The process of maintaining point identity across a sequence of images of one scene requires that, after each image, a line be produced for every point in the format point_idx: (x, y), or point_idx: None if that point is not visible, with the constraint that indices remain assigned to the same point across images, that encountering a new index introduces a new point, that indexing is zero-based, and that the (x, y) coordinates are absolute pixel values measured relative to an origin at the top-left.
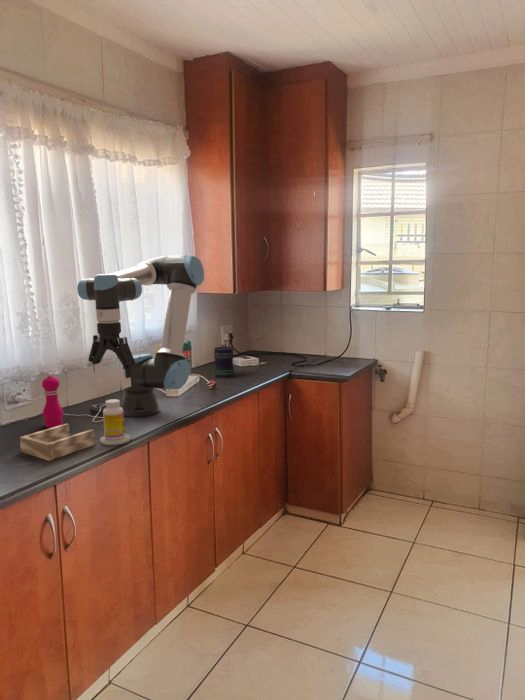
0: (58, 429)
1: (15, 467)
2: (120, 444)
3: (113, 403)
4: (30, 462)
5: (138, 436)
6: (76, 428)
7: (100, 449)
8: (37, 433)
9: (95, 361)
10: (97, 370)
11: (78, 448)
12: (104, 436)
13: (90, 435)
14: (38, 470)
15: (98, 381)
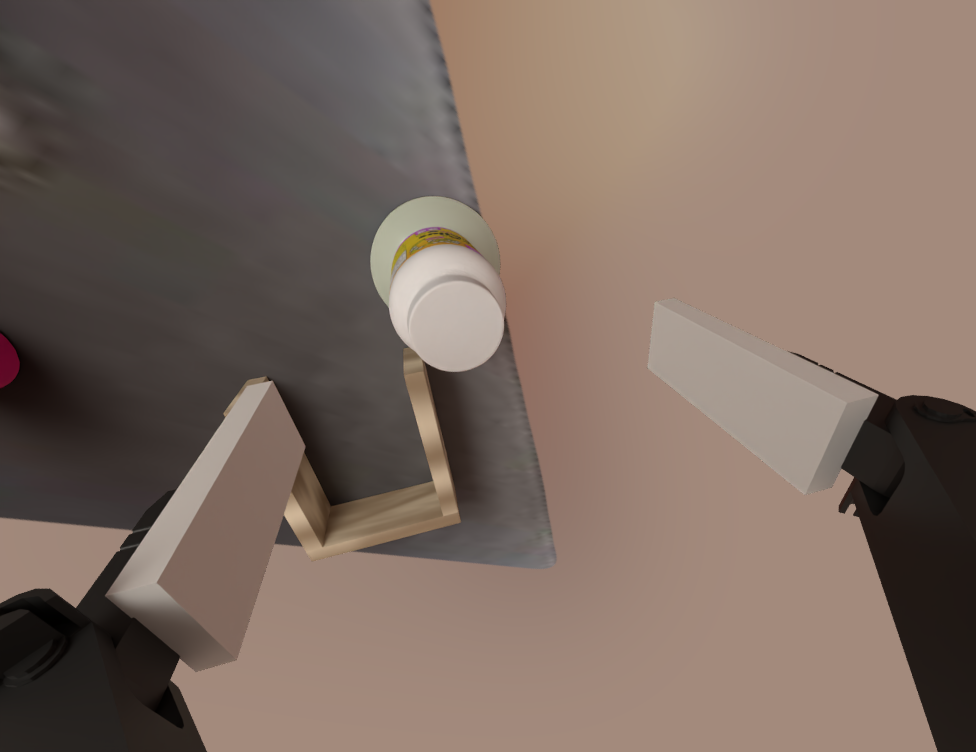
0: None
1: (436, 544)
2: None
3: (497, 344)
4: None
5: (461, 153)
6: (106, 294)
7: None
8: (307, 520)
9: (189, 722)
10: (260, 545)
11: (435, 409)
12: (385, 291)
13: (426, 379)
14: (497, 515)
15: (294, 440)
